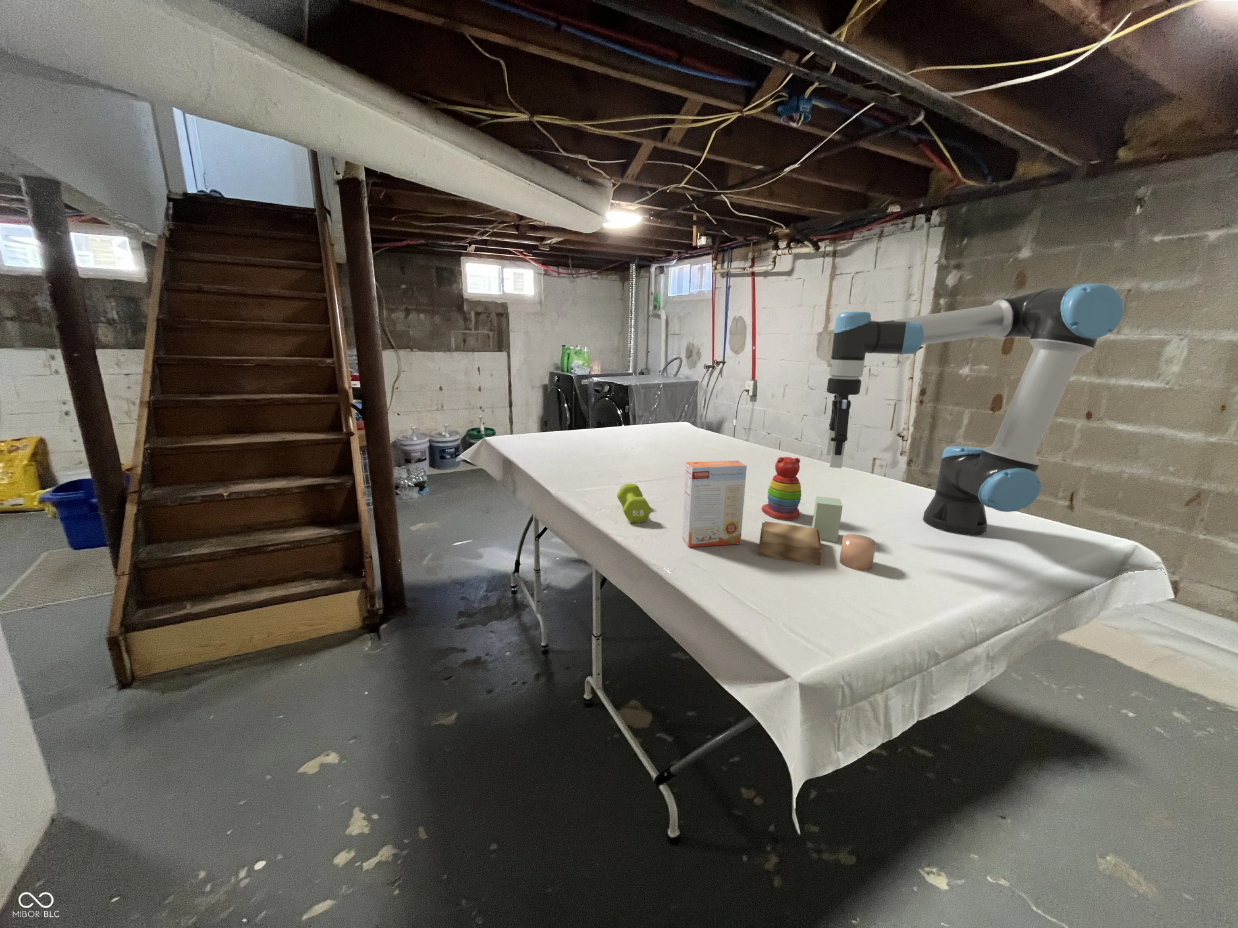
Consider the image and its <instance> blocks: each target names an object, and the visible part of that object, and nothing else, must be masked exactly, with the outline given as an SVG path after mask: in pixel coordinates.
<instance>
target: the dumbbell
mask: <svg viewBox="0 0 1238 928" xmlns="http://www.w3.org/2000/svg"><path fill="white" fill-rule="evenodd" d="M616 498H617V499H618V501H619V503H620V504H621V506H622V507H623V508H622V511H623V514H624V515H625V517H626V519H627V521H629V522H628V523H632V524H638V523H639V524H640V523H641V524H642V523H644V522H645V521H647V519H648V518H649V516H650V514H651V512H652V508H651V506H650V504H649V503H648V501H647V499H646V498H645V497H644V495H643V492H642V491H641V489H640V487H639V486H638V485H637V484H636V483H624V484H622V486H621V487H620V489H619V490H618V492H617V494H616Z"/></svg>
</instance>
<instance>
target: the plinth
mask: <svg viewBox="0 0 1238 928" xmlns="http://www.w3.org/2000/svg"><path fill="white" fill-rule="evenodd" d="M760 529H761V530H760V536H759V543H758V551H757V552H758V553H757V556H759V557H766V558H767V557H768V558H773V559H777V560H778V559H779V560H785V561H791V562H798V563H805V564H811V565H817V566H820V565H821V561H822V555H823V550H822V549H823V548H822V543H821V540H820V535H819V530H817V528H812V526H801V525H796V524H788V523H782V522H781V523H779V522H774V521H773V522H772V521H764V522H763V521H762V522H761V528H760Z"/></svg>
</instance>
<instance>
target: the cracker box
mask: <svg viewBox="0 0 1238 928" xmlns="http://www.w3.org/2000/svg"><path fill="white" fill-rule="evenodd" d="M747 467H748V466H747V465H746V464H744V463H743V462H741V461H739V460H714V461H713V460H712V461H710V460H709V461H708V460H707V461H706V460H705V461H686V462H685V472H684V473H685V474H684V475H685V476H684V477H685V478H684V494H683V495H684V498H683V515H682V516H683V518H682V519H683V521H682V540H683V541H684V543H685V545H687V546H688V548H694V547H696V548H697V547H712V546H727V545H740V544H741V540H742V530H743V518H744V507H745V506H744V504H745V493H746V478H747Z"/></svg>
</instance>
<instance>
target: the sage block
mask: <svg viewBox="0 0 1238 928" xmlns="http://www.w3.org/2000/svg"><path fill="white" fill-rule="evenodd" d="M843 507H844V506H843V503H842V500H841V498H837V497H827V496H819V495H816V496H815V504H814V510H813V519H812V525H811V527H812V528H817V530H819V535H820V541H827V542H833V543H838V539H839V533H840V526H841V519H842V513H843Z"/></svg>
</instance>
